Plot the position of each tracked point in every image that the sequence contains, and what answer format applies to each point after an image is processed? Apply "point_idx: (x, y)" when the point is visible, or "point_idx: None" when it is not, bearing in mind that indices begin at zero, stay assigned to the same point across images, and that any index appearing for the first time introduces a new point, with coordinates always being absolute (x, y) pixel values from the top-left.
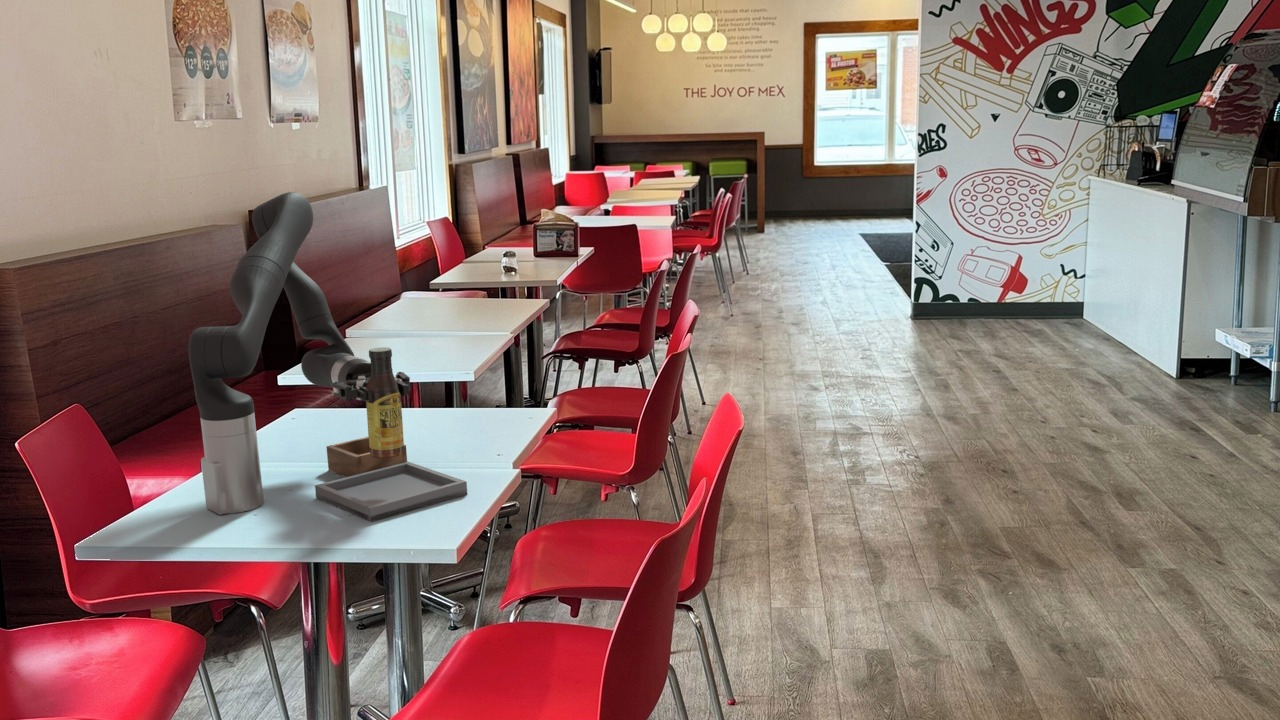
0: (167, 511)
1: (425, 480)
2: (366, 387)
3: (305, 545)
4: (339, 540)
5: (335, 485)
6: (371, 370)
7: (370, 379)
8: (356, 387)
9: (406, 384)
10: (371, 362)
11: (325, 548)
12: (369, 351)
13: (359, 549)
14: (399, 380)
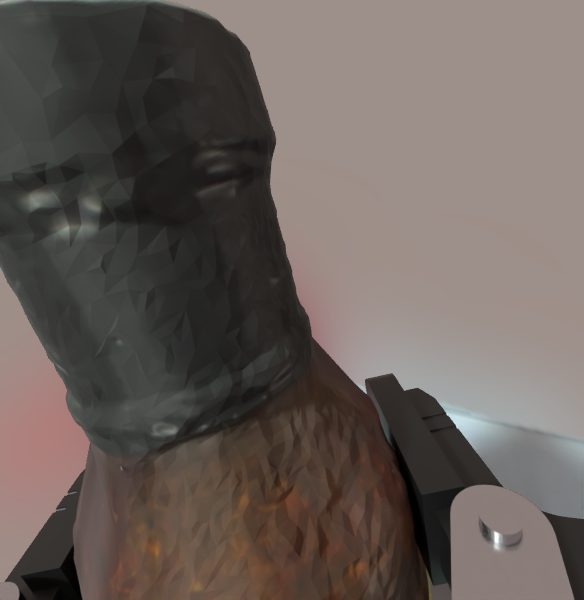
0: None
1: None
2: (398, 472)
3: (569, 449)
4: (497, 450)
5: None
6: (301, 314)
7: (340, 386)
8: (526, 503)
9: (66, 498)
10: (276, 218)
11: (514, 425)
12: (250, 57)
13: (449, 408)
14: (4, 584)
